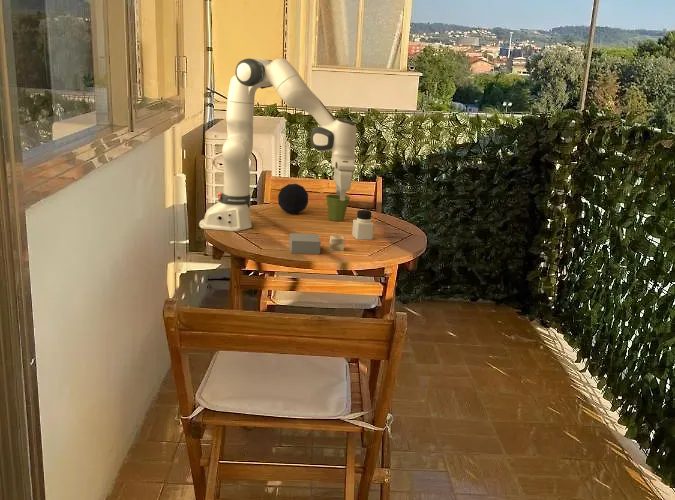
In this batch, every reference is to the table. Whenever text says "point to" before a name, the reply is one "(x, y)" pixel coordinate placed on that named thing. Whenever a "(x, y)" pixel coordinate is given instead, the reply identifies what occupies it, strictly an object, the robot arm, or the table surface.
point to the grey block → (304, 243)
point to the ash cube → (336, 243)
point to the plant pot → (336, 207)
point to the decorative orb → (293, 198)
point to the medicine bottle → (363, 226)
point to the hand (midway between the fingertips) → (340, 197)
